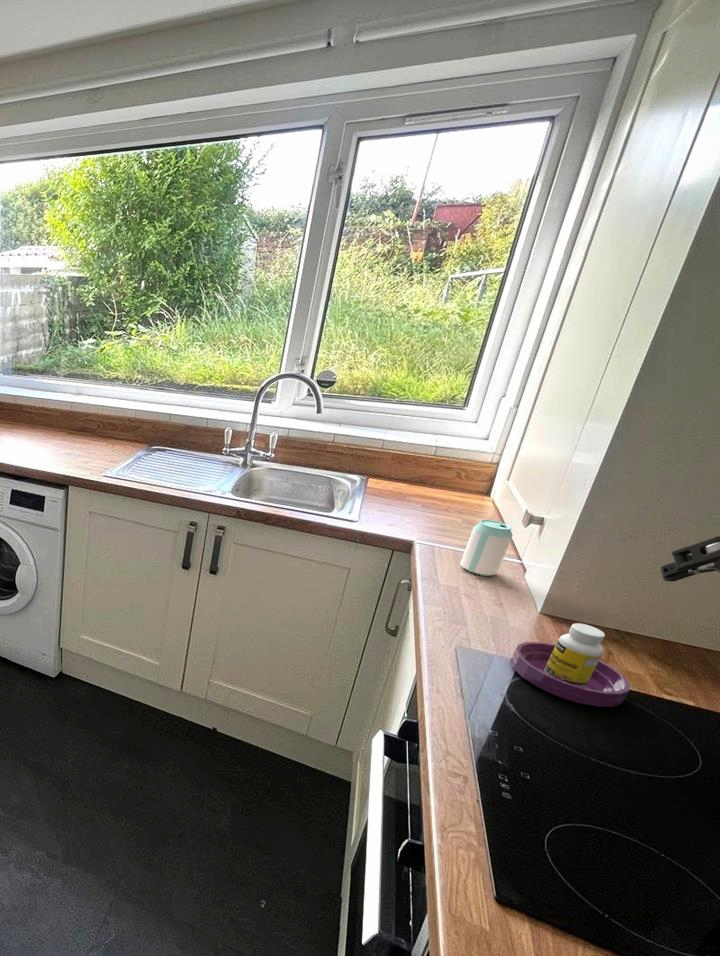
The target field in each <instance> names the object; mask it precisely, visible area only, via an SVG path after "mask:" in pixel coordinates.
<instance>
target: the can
mask: <svg viewBox="0 0 720 956" xmlns="http://www.w3.org/2000/svg"><path fill="white" fill-rule="evenodd" d="M512 538H513V532H512V526H511V525H509V524H507V523H505V522H501V521H498V520H493V519H481V520H480V521H479V523H477V524H476V525H474V526H473V529H472V531H471V533H470V536H469V539H468V542H467V545H466V547H465V550H464V553H463V555H462V557H461V560H460V563H459V565H460V566H461V568H463V569H464V568H465V569H466V570H465V569H464V570H465V571H466V572H468V573H471V572H473V573H472V574H474V573H476V574H474V575H477V576H483V577H491V576H494V575H497V574H498V572H499V570H500V567H501V565H502V563H503V560H504V557H505V555H506V553H507V550H508V548H509V545H510V543H511V541H512ZM467 570H468V571H467ZM469 571H471V572H469ZM478 574H480V575H478Z"/></svg>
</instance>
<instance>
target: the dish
mask: <svg viewBox="0 0 720 956" xmlns="http://www.w3.org/2000/svg"><path fill="white" fill-rule="evenodd" d="M555 646H556V644H554V643H547V642H543V641H542V642H541V641H526V642H522V643H518V645H517V646H516V647H515V650H514V652H513V654H512V656H511V659H510V660H509V661H510V665H511V666H512V669H513V670H514V671H515V672H516V673H517V674H518V675H520V677H521V678H522V679H524V680H526V681H528V682H529V683H530V684H532V685H534V686H535V687H537V688H538V689H540V690H542V691H544V692H546V693H548V694H551V695H553V696H555V697H558V698H561V699H564V700H566V701H570V702H573V703H577V704H580V705H587V706H591V707H598V708H614V707H616V706H619V705H622V704H623V703H624V701H625V699H626V698H627V696H628V694H629V692H630V688H631V683H630V682H629V680H628V679H627V678H626V676H625V675H624V674H622V673H621V672H619V670H617V669H616V668H614V667H613V666H611V665H610V664H608V663H606V662H604V661H602V660H601V659H600V660H599V662H598V664H597V666H596V668H595V669H594V671H593V673H592V675H591V677H590V679H589V681H588V683H587V685H586V686H584V687H580V686H576V685H573V684H570V683H567V682H564V681H562V680H559V679H557V678H555V677H552V676H550V675H548V674H546V673H545V671H544V669H545V667H546V665H547V662H548V660H549V658H550V656H551V654H552V652H553V650H554V648H555Z"/></svg>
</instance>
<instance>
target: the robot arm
mask: <svg viewBox="0 0 720 956" xmlns="http://www.w3.org/2000/svg"><path fill="white" fill-rule="evenodd" d="M670 553H671V555H672V558H673V560H674V561H672V562H669V563H666V564H663V565H661V566H660V573H661V575H662V579H663V580H664V582H672V583H674V582H677V581H679V580H683V579H687V578H688V577H692V576H695V575H698V574H703V573H712V572H717V573H719V574H720V535H719V536H714V537H710V538H708V539H705V540H702V541H699V542H696V543H694V544H690V545H687V546H683V547H682V548H678V549H675V550H672V551H671V552H670Z"/></svg>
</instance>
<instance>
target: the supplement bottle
mask: <svg viewBox="0 0 720 956" xmlns="http://www.w3.org/2000/svg"><path fill="white" fill-rule="evenodd" d="M605 636H606V634H605V632H604V631H602V630H600V629H599V628H596V627H594V626H591V625H588V624H585V623H580V622H579V623H577V622H576V623H572V625H571V626H570V628H569V630H568V633H565V634H562V635H560V637H559V638H558V640H557V642H556V644H555V645H556V646H555V648H554V650H553V652H552V654H551V656H550V658H549V660H548V662H547V665H546V667H545V669H544V671H545V673H546V674H548V675H550V676H552V677H555V678H557V679H559V680H562V681H564V682H567V683H570V684H573V685H576V686H580V687H584V686H586V685H587V683H588V681H589V679H590V677H591V675H592V673H593V671H594V669H595V668H596V666H597V664H598V662H599V660H600V661H601V658H602V657H603V654H604V647H603V646H602V642H603V641H604V639H605Z"/></svg>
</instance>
